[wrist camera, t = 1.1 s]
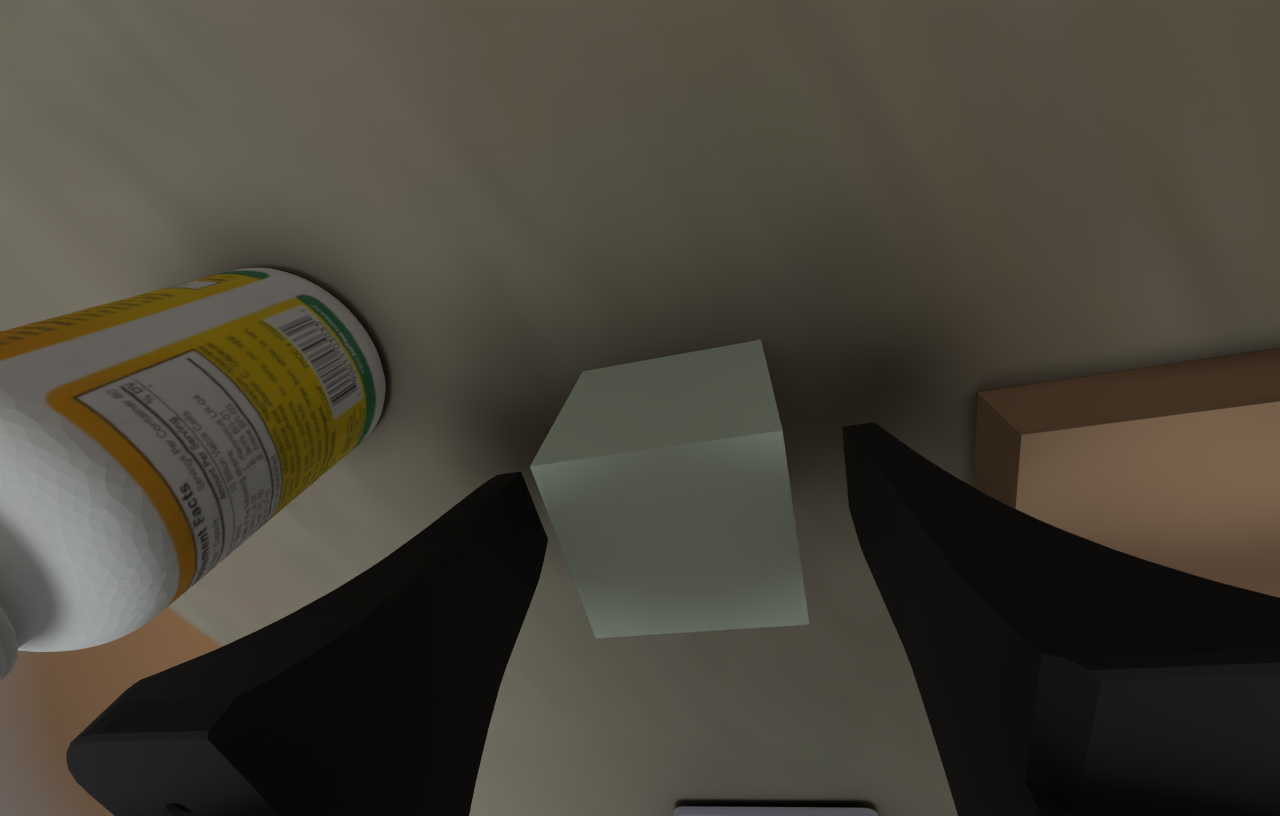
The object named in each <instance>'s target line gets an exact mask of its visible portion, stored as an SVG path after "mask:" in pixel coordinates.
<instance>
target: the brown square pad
mask: <svg viewBox="0 0 1280 816" xmlns="http://www.w3.org/2000/svg"><path fill="white" fill-rule="evenodd" d="M974 488H976V489H977V490H979V491H981V492H983V493H985V494H986V495H988V496H990V497H992V498H994V499H996V500H998V501H1000V502H1002V503H1004V504H1006V505H1008V506H1010V507H1012V508H1015V509H1017V510H1019V511H1021V512H1023V513H1025V514H1028V515H1030V516H1032V517H1034V518H1036V519H1038V520H1041V521H1043V522H1045V523H1047V524H1050V525H1052V526H1055V527H1057V528H1060V529H1062V530H1064V531H1067V532H1069V533H1072V534H1075V535H1077V536H1080V537H1083V538H1085V539H1088V540H1090V541H1093V542H1096V543H1098V544H1101V545H1104V546H1106V547H1109V548H1112V549H1114V550H1117V551H1120V552H1123V553H1126V554H1129V555H1132V556H1135V557H1138V558H1141V559H1144V560H1147V561H1150V562H1153V563H1157V564H1160V565H1163V566H1166V567H1170V568H1173V569H1176V570H1179V571H1183V572H1186V573H1189V574H1192V575H1196V576H1199V577H1202V578H1206V579H1209V580H1213V581H1216V582H1220V583H1224V584H1228V585H1232V586H1236V587H1240V588H1244V589H1248V590H1251V591H1255V592H1259V593H1263V594H1267V595H1271V596H1275V597H1279V598H1280V348H1275V349H1269V350H1262V351H1255V352H1248V353H1241V354H1235V355H1228V356H1221V357H1214V358H1207V359H1200V360H1194V361H1187V362H1180V363H1173V364H1166V365H1160V366H1153V367H1146V368H1139V369H1132V370H1125V371H1119V372H1112V373H1105V374H1098V375H1091V376H1085V377H1078V378H1071V379H1064V380H1057V381H1051V382H1044V383H1037V384H1030V385H1023V386H1016V387H1010V388H1003V389H996V390H989V391H982V392H977V413H976V441H975V468H974Z"/></svg>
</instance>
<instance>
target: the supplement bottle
mask: <svg viewBox="0 0 1280 816" xmlns="http://www.w3.org/2000/svg"><path fill="white" fill-rule="evenodd" d="M385 388H386V383H385V376H384V372H383V368H382V364H381V361H380V357H379V355H378V352H377V350H376V348H375V346H374V344H373V342H372V340H371V338H370V336H369V335H368V333H367V332H366V330H365V329H364V327H363V326H362V324H361V323H360V322H359V321H358V320H357V319H356V317H355V316H354V315H353V314H352V313H351V312H350V311H349V310H348V309H347V308H346V307H345V306H344V305H343V304H342V303H341V302H340V301H339V300H337V299H336V298H335V297H334V296H332V295H331V294H330V293H328V292H327V291H325V290H324V289H322V288H321V287H319V286H317V285H315V284H314V283H312V282H310V281H308V280H306V279H303V278H301V277H299V276H296V275H293V274H290V273H287V272H283V271H279V270H275V269H271V268H245V269H237V270H232V271H229V272H225V273H221V274H216V275H212V276H208V277H205V278H201V279H198V280H194V281H190V282H186V283H183V284H179V285H175V286H171V287H167V288H164V289H160V290H156V291H152V292H149V293H145V294H142V295H138V296H135V297H131V298H127V299H123V300H119V301H116V302H112V303H108V304H104V305H100V306H96V307H92V308H88V309H84V310H81V311H77V312H74V313H70V314H66V315H63V316H59V317H55V318H51V319H47V320H44V321H39V322H35V323H31V324H28V325H24V326H20V327H17V328H13V329H9V330H6V331H1V332H0V681H1V680H2V679H3V678H4V677H5V676H7V674H9V673H10V672H11V671H12V669H13V667H14V665H15V663H16V661H17V656H18V650H23V651H33V652H58V651H68V650H77V649H84V648H89V647H93V646H97V645H101V644H104V643H107V642H110V641H113V640H116V639H118V638H120V637H122V636H125V635H127V634H129V633H131V632H133V631H135V630H136V629H138V628H140V627H141V626H143V625H145V624H146V623H147V622H149V621H150V620H151V619H153V618H154V617H156V616H157V615H158V614H159V613H161V612H162V611H163V610H164V609H165V608H167V607H168V606H169V605H170V604H171V603H173V602H174V601H175V600H176V599H177V598H179V597H180V596H181V595H182V594H183V593H184V592H186V591H187V590H188V589H189V588H190V587H192V586H193V585H194V584H196V583H197V582H198V581H199V580H200V579H201V578H203V577H204V576H205V575H206V574H207V573H208V572H209V571H211V570H212V569H213V568H214V567H215V566H216V565H217V564H219V563H220V562H221V561H222V560H223V559H225V558H226V557H227V556H228V555H230V554H231V553H232V552H233V551H234V550H235V549H236V548H238V547H239V546H240V545H241V544H243V543H244V542H245V541H246V540H247V539H248V538H249V537H251V536H252V535H253V534H254V533H255V532H256V531H257V530H258V529H260V528H261V527H262V526H263V525H264V524H265V523H267V522H268V521H269V520H270V519H271V518H272V517H273V516H275V515H276V514H277V513H278V512H279V511H280V510H282V509H283V508H284V507H285V506H286V505H288V504H289V503H290V502H291V501H292V500H293V499H295V498H296V497H297V496H298V495H299V494H301V493H302V492H303V491H304V490H305V489H306V488H308V487H309V486H310V485H311V484H312V483H313V482H315V481H316V480H317V479H318V478H319V477H320V476H322V475H323V474H324V473H325V472H326V471H328V470H329V469H330V468H331V467H332V466H334V465H335V464H336V463H337V462H338V461H339V460H341V459H342V458H343V457H344V456H345V455H347V454H348V453H349V452H350V451H351V450H353V449H354V448H355V447H356V446H357V445H359V444H360V442H361V441H363V440H364V439H365V438H366V437H367V436H368V435H369V434H370V433H371V431H372V430H373V429H374V427H375V426H376V424H377V422H378V420H379V418H380V416H381V413H382V409H383V405H384V399H385Z"/></svg>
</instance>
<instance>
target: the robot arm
mask: <svg viewBox="0 0 1280 816" xmlns="http://www.w3.org/2000/svg"><path fill="white" fill-rule="evenodd" d="M842 428H843V440H844V452H845V464H846V476H847V488H848V500H849V508H850V512H851V515H852V519H853V522H854V526H855V529H856V533H857V536H858V540H859V543H860V546H861V549H862V552H863V554H864V556H865V559H866V561H867V563H868V566H869V568H870V570H871V573H872V575H873V577H874V580H875V582H876V584H877V586H878V589H879V591H880V593H881V596H882V598H883V600H884V602H885V605H886V607H887V609H888V611H889V614H890V616H891V618H892V621H893V623H894V625H895V627H896V630H897V632H898V634H899V637H900V639H901V641H902V643H903V646H904V648H905V651H906V654H907V656H908V659H909V661H910V664H911V667H912V669H913V673H914V676H915V679H916V682H917V685H918V688H919V691H920V694H921V697H922V700H923V703H924V707H925V710H926V713H927V716H928V719H929V722H930V725H931V729H932V732H933V735H934V738H935V741H936V745H937V748H938V751H939V754H940V757H941V761H942V764H943V767H944V770H945V774H946V777H947V780H948V783H949V787H950V790H951V793H952V797H953V800H954V803H955V807H956V810H957V814H958V816H1280V598H1279V597H1275V596H1271V595H1267V594H1263V593H1259V592H1255V591H1251V590H1248V589H1244V588H1240V587H1236V586H1232V585H1228V584H1224V583H1220V582H1216V581H1213V580H1209V579H1206V578H1202V577H1199V576H1196V575H1192V574H1189V573H1186V572H1183V571H1179V570H1176V569H1173V568H1170V567H1166V566H1163V565H1160V564H1157V563H1153V562H1150V561H1147V560H1144V559H1141V558H1138V557H1135V556H1132V555H1129V554H1126V553H1123V552H1120V551H1117V550H1114V549H1112V548H1109V547H1106V546H1104V545H1101V544H1098V543H1096V542H1093V541H1090V540H1088V539H1085V538H1083V537H1080V536H1077V535H1075V534H1072V533H1069V532H1067V531H1064V530H1062V529H1060V528H1057V527H1055V526H1052V525H1050V524H1047V523H1045V522H1043V521H1041V520H1038V519H1036V518H1034V517H1032V516H1030V515H1028V514H1025V513H1023V512H1021V511H1019V510H1017V509H1015V508H1012V507H1010V506H1008V505H1006V504H1004V503H1002V502H1000V501H998V500H996V499H994V498H992V497H990V496H988V495H986V494H985V493H983V492H981V491H979V490H977V489H976V488H974V487H972V486H970V485H968V484H967V483H965V482H963V481H961V480H960V479H958V478H956V477H954V476H953V475H951V474H949V473H948V472H946V471H945V470H943V469H941V468H940V467H938V466H937V465H935V464H933V463H932V462H930V461H929V460H927V459H926V458H924V457H923V456H921V455H920V454H918V453H917V452H915V451H914V450H912V449H911V448H909V447H908V446H907V445H905V444H904V443H902V442H901V441H900V440H898V439H897V438H895V437H894V436H892V435H891V434H890V433H888V432H887V431H885V430H884V429H883V428H881V427H880V426H878V425H877V424H875V423H866V424H859V425H852V426H845V427H842ZM547 542H548V538H547V536H546V533H545V531H544V528H543V526H542V523H541V521H540V518H539V516H538V513H537V511H536V508H535V506H534V503H533V501H532V498H531V495H530V493H529V490H528V488H527V485H526V483H525V480H524V478H523V475H522V473H521V472H515V473H508V474H501V475H497V476H495V477H493V478H492V479H490V480H489V481H487V482H486V483H484V484H483V485H481V486H480V487H479V488H477V489H476V490H475V491H473V492H472V493H471V494H469V495H468V496H467V497H465V498H464V499H463V500H462V501H460V502H459V503H458V504H457V505H455V506H454V507H453V508H451V509H450V510H449V511H448V512H446V513H445V514H444V515H442V516H441V517H440V518H439V519H437V520H436V521H435V522H433V523H432V524H431V525H430V526H428V527H427V528H426V529H424V530H423V531H422V532H420V533H419V534H417V535H416V536H415V537H413V538H412V539H411V540H409V541H408V542H406V543H405V544H404V545H402V546H401V547H400V548H398V549H397V550H396V551H394V552H393V553H391V554H390V555H389V556H387V557H386V558H384V559H383V560H381V561H380V562H378V563H377V564H375V565H374V566H372V567H371V568H369V569H368V570H366V571H365V572H363V573H361V574H360V575H358V576H357V577H355V578H353V579H352V580H350V581H349V582H347V583H345V584H344V585H342V586H340V587H339V588H337V589H335V590H334V591H332V592H330V593H328V594H326V595H325V596H323V597H321V598H319V599H317V600H316V601H314V602H312V603H310V604H308V605H306V606H305V607H303V608H301V609H299V610H297V611H295V612H294V613H292V614H290V615H288V616H286V617H284V618H282V619H280V620H278V621H276V622H274V623H272V624H270V625H268V626H266V627H264V628H262V629H260V630H258V631H256V632H254V633H251V634H249V635H247V636H245V637H243V638H241V639H238V640H236V641H234V642H232V643H230V644H228V645H225V646H223V647H221V648H218V649H216V650H214V651H212V652H209V653H207V654H205V655H202V656H199V657H197V658H194V659H192V660H189V661H187V662H184V663H182V664H180V665H177V666H175V667H172V668H170V669H167V670H165V671H162V672H160V673H157V674H155V675H152V676H149V677H147V678H144V679H142V680H140V681H138V682H137V683H135V684H134V685H132V686H131V687H130V688H128V689H127V690H126V691H125V692H124V693H123V694H122V695H120V696H119V698H117V699H116V700H115V701H114V702H113V703H112V704H111V705H110V706H109V707H108V708H107V709H106V710H105V711H104V712H103V713H102V714H100V716H98V717H97V718H96V719H95V720H94V721H93V722H92V723H91V724H90V725H89V726H88V727H87V728H86V729H85V730H84V731H83V732H81V734H79V735H78V736H77V737H76V738H75V739H74V740H73V741H72V742H71V743H70V746H69V748H68V750H67V757H66V759H67V764H68V768H69V771H70V772H71V774H72V775H73V777H74V778H75V780H76V782H77V783H78V784H79V785H80V786H82V787H83V788H84V789H85V790H86V791H87V792H88V793H89V794H90V795H91V796H92V797H93V798H95V799H96V800H97V801H98V802H99V803H100V804H102V805H103V806H104V807H105V808H106V809H107V810H109V811H110V812H111V813H112V814H113V815H115V816H469V813H470V808H471V803H472V798H473V793H474V788H475V783H476V779H477V774H478V770H479V766H480V762H481V757H482V753H483V749H484V745H485V740H486V736H487V732H488V728H489V724H490V721H491V717H492V713H493V709H494V706H495V702H496V698H497V694H498V691H499V687H500V684H501V681H502V678H503V675H504V672H505V669H506V666H507V663H508V661H509V658H510V655H511V653H512V650H513V648H514V645H515V642H516V640H517V637H518V634H519V632H520V629H521V627H522V624H523V621H524V619H525V616H526V614H527V611H528V608H529V606H530V603H531V600H532V597H533V595H534V592H535V589H536V587H537V584H538V581H539V578H540V574H541V570H542V566H543V561H544V557H545V552H546V547H547ZM674 816H879V815H878V813H877V812H876V811H874V810H873V809H870V808H854V807H720V806H681V807H678V808H676V809H675V810H674Z"/></svg>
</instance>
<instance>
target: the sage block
mask: <svg viewBox="0 0 1280 816" xmlns="http://www.w3.org/2000/svg"><path fill="white" fill-rule="evenodd" d="M530 468H531V470H532V473H533V476H534V478H535V481H536V484H537V486H538V489H539V491H540V494H541V497H542V499H543V502H544V504H545V507H546V510H547V512H548V515H549V518H550V520H551V523H552V525H553V528H554V531H555V533H556V536H557V538H558V541H559V544H560V546H561V549H562V551H563V554H564V557H565V559H566V562H567V565H568V567H569V570H570V572H571V575H572V578H573V580H574V583H575V585H576V588H577V591H578V593H579V596H580V599H581V601H582V604H583V606H584V609H585V612H586V614H587V617H588V619H589V622H590V625H591V627H592V630H593V632H594V635H595V638H611V637H627V636H642V635H657V634H673V633H688V632H703V631H719V630H734V629H749V628H765V627H780V626H795V625H809V618H808V611H807V603H806V596H805V589H804V582H803V574H802V567H801V560H800V553H799V545H798V538H797V531H796V524H795V517H794V509H793V502H792V495H791V488H790V480H789V473H788V466H787V459H786V451H785V444H784V437H783V430H782V426H781V422H780V417H779V413H778V409H777V405H776V401H775V396H774V392H773V388H772V384H771V380H770V375H769V371H768V367H767V363H766V359H765V354H764V350H763V346H762V342H761V340H756V341H750V342H745V343H739V344H734V345H728V346H722V347H717V348H711V349H705V350H700V351H694V352H689V353H683V354H677V355H672V356H666V357H660V358H655V359H649V360H644V361H638V362H632V363H627V364H621V365H615V366H610V367H604V368H599V369H593V370H587V371H583V372H582V373H581V375H580V377H579V379H578V381H577V382H576V384H575V386H574V388H573V390H572V391H571V393H570V395H569V397H568V399H567V400H566V402H565V404H564V406H563V408H562V409H561V411H560V413H559V415H558V417H557V418H556V420H555V422H554V424H553V426H552V427H551V429H550V431H549V433H548V435H547V437H546V438H545V440H544V442H543V444H542V446H541V447H540V449H539V451H538V453H537V455H536V456H535V458H534V460H533V462H532V464H531V465H530Z"/></svg>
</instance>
